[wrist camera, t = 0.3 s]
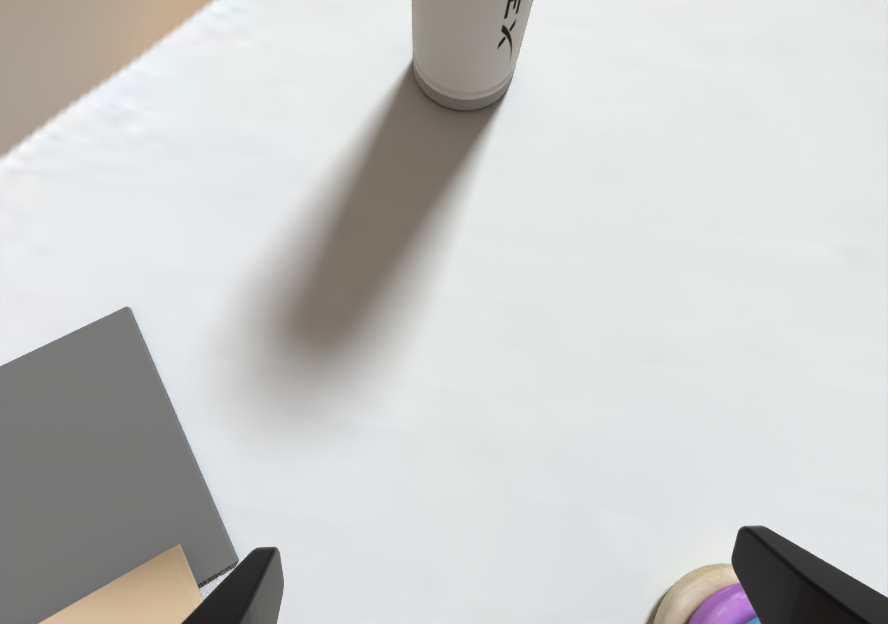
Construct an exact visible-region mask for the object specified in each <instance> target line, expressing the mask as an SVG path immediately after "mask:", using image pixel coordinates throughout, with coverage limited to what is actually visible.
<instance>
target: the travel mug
mask: <svg viewBox="0 0 888 624" xmlns="http://www.w3.org/2000/svg"><path fill="white" fill-rule="evenodd" d="M532 3H533V0H412V37H413V72H414V75H415V79H416V81H417V83H418V85H419V87H420V88H421V89H422V90H423V92H424V93H425V94H426V95H427V96H428V97H430V98H431V99H432V100H433V101H435V102H437V103H438V104H440V105H442V106H445V107H448V108H450V109H456V110H475V109H480V108H483V107H486V106H488V105H490V104H492V103H494V102H495V101H497V100H498V99H499V98H500V97H501V96H503V95H504V93H505V92H506V91H507V89H508V88H509V86H510V83H511V80H512V77H513V74H514V70H515V66H516V61H517V59H518V55H519V51H520V47H521V44H522V40H523V36H524V33H525V29H526V25H527V21H528V18H529V14H530V10H531V6H532Z"/></svg>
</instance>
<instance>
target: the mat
mask: <svg viewBox="0 0 888 624" xmlns="http://www.w3.org/2000/svg"><path fill="white" fill-rule="evenodd" d="M178 544H181V547H182V549H183V552H184V554H185V557H186V559H187V561H188V564H189V566H190V569H191V571H192V574H193V576H194V579H195V581H196V583H197V585H198V584H200V583H202V582H203V581H205V580H207V579H208V578H210V577H212V576H214V575H215V574H217V573H219V572H220V571H222V570H224V569H225V568H227V567H229V566H231V565H232V564H234V563H236V562H237V561H238V560H239V559H238V557H237V555H236V552H235V550H234V548H233V545H232V543H231V541H230V538H229V536H228V534H227V531H226V529H225V527H224V525H223V522H222V520H221V518H220V515H219V513H218V511H217V508H216V506H215V504H214V501H213V499H212V497H211V494H210V492H209V490H208V487H207V485H206V483H205V480H204V478H203V476H202V473H201V471H200V469H199V466H198V464H197V462H196V460H195V457H194V455H193V453H192V450H191V448H190V446H189V443H188V441H187V439H186V436H185V434H184V432H183V429H182V427H181V425H180V422H179V420H178V418H177V415H176V413H175V411H174V408H173V406H172V404H171V401H170V399H169V397H168V395H167V392H166V390H165V388H164V385H163V383H162V381H161V378H160V376H159V374H158V371H157V369H156V367H155V364H154V362H153V360H152V357H151V355H150V353H149V350H148V348H147V346H146V343H145V341H144V339H143V337H142V334H141V332H140V330H139V327H138V325H137V323H136V320H135V318H134V316H133V313H132V311H131V309H130V308H129V307H125V308H123V309H120V310H118V311H116V312H114V313H112V314H110V315H108V316H106V317H104V318H101V319H99V320H97V321H95V322H93V323H91V324H89V325H87V326H85V327H82V328H80V329H78V330H76V331H74V332H72V333H70V334H68V335H66V336H63V337H61V338H59V339H57V340H55V341H53V342H51V343H49V344H47V345H45V346H42V347H40V348H38V349H36V350H34V351H32V352H30V353H28V354H26V355H23V356H21V357H19V358H17V359H15V360H13V361H11V362H9V363H7V364H4V365H2V366H0V624H38V623H40V622H42V621H44V620H45V619H47V618H49V617H51V616H53V615H54V614H56V613H58V612H60V611H61V610H63V609H65V608H67V607H68V606H70V605H72V604H74V603H75V602H77V601H79V600H81V599H82V598H84V597H86V596H88V595H89V594H91V593H93V592H95V591H97V590H98V589H100V588H102V587H104V586H105V585H107V584H109V583H111V582H112V581H114V580H116V579H118V578H119V577H121V576H123V575H125V574H126V573H128V572H130V571H132V570H133V569H135V568H137V567H139V566H141V565H142V564H144V563H146V562H148V561H149V560H151V559H153V558H155V557H156V556H158V555H160V554H162V553H163V552H165V551H167V550H169V549H170V548H172V547H174V546H176V545H178Z"/></svg>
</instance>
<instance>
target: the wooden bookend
mask: <svg viewBox="0 0 888 624" xmlns="http://www.w3.org/2000/svg"><path fill="white" fill-rule="evenodd" d="M202 602H203V598H202V596H201V593H200V591H199V588H198V586H197V583H196V581H195V579H194V576H193V574H192V571H191V569H190V566H189V564H188V561H187V559H186V557H185V554H184V552H183V549H182V547H181V544H178V545H176V546H174V547H172V548H170V549H169V550H167V551H165V552H163V553H162V554H160V555H158V556H156V557H155V558H153V559H151V560H149V561H148V562H146V563H144V564H142V565H141V566H139V567H137V568H135V569H133V570H132V571H130V572H128V573H126V574H125V575H123V576H121V577H119V578H118V579H116V580H114V581H112V582H111V583H109V584H107V585H105V586H104V587H102V588H100V589H98V590H97V591H95V592H93V593H91V594H89V595H88V596H86V597H84V598H82V599H81V600H79V601H77V602H75V603H74V604H72V605H70V606H68V607H67V608H65V609H63V610H61V611H60V612H58V613H56V614H54V615H53V616H51V617H49V618H47V619H45V620H44V621H42V622H40V623H38V624H181V623H182V622H183V621H184V620H185V619H186V618H187V617H188V616H189V615H190V614H191V613H192V612H193V611H194V610H195V609H196V608H197V607H198V606H199V605H200V604H201V603H202Z"/></svg>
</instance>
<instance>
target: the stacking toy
mask: <svg viewBox="0 0 888 624" xmlns="http://www.w3.org/2000/svg"><path fill="white" fill-rule="evenodd" d="M653 624H761V623H760V621H759V619H758V617H757V615H756V613H755V611H754V609H753V607H752V605H751V604H750V602H749V600H748V598H747V596H746V594H745V592H744V590H743V588H742V586H741V584H740V582H739V580H738V578H737V576H736V574H735V572H734V569H733V566H732V564H713V565H707V566H704V567H701V568H698V569H696V570H693V571H692V572H690V573H688V574H686V575H685V576H683V577H682V578H681V579H680V580H678V581H677V582H676V583H675V584H674V585H673V586H672V587H671V588H670V590H669V591H668V592H667V594H666V595H665V597H664V598H663V600H662V602H661V604H660V606H659V608H658V611H657V613H656V616H655V620H654V623H653Z"/></svg>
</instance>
